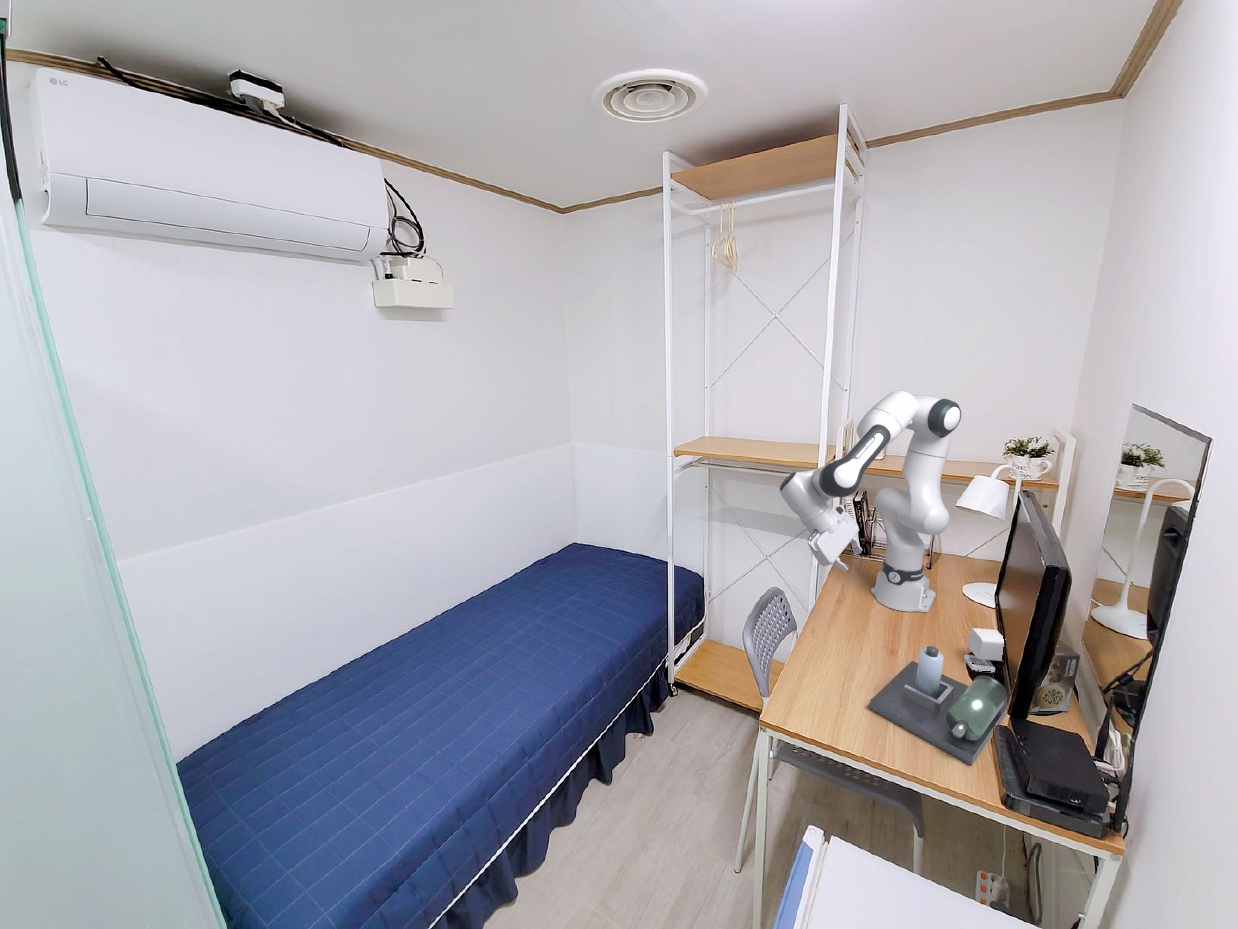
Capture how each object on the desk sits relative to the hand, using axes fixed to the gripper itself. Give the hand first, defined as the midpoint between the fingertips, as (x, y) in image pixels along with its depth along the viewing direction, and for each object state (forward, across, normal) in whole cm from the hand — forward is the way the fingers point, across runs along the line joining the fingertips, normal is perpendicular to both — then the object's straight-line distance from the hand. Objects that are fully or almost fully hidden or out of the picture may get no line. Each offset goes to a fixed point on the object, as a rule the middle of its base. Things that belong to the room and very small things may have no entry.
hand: (853, 561), depth 142 cm
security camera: (+44, +9, -4) cm, 45 cm away
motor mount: (+36, -18, -5) cm, 40 cm away
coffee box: (+51, +2, -16) cm, 53 cm away
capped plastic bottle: (+32, -17, -5) cm, 37 cm away
